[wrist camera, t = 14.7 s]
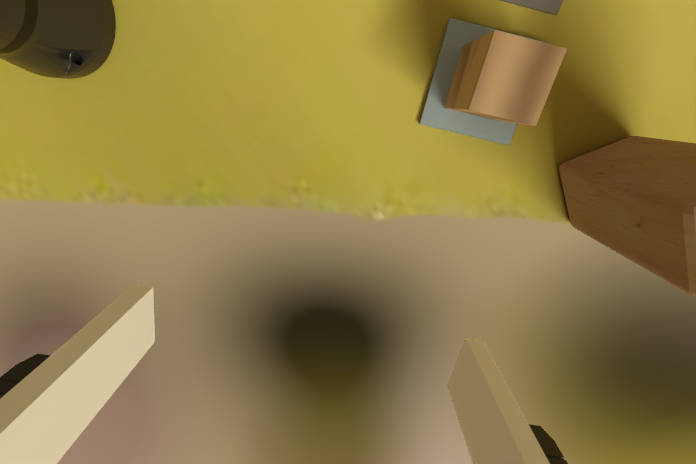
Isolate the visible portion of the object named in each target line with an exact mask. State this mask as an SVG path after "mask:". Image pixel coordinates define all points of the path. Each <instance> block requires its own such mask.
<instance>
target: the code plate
mask: <svg viewBox="0 0 696 464" xmlns="http://www.w3.org/2000/svg"><path fill="white" fill-rule="evenodd" d="M501 1H505V2H509V3H513V4H516V5H520V6H524V7H528V8H532V9H535V10H539V11H543V12H547V13H550V14H554V15H557V14H558V11H559V9H560V6H561V4H562V1H563V0H501Z"/></svg>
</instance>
